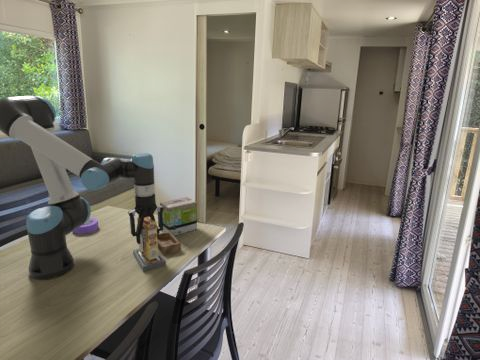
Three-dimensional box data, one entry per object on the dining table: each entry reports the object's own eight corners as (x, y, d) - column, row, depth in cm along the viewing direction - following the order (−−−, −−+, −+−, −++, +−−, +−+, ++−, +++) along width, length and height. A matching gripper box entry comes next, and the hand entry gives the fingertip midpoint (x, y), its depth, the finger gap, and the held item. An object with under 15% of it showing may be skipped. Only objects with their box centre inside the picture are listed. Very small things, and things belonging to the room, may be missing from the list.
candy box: (158, 257, 133) (157, 221, 129) (149, 260, 130) (147, 224, 126) (148, 249, 139) (146, 215, 135) (138, 252, 136) (136, 217, 132)
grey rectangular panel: (145, 266, 129) (145, 264, 129) (138, 254, 138) (137, 251, 138) (160, 262, 132) (160, 260, 132) (152, 251, 141) (152, 248, 141)
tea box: (170, 238, 155) (169, 208, 151) (160, 230, 162) (159, 202, 158) (197, 229, 164) (197, 201, 160) (187, 223, 171) (186, 195, 167)
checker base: (143, 271, 127) (142, 265, 126) (133, 254, 139) (132, 248, 138) (166, 265, 131) (165, 259, 131) (154, 249, 144) (154, 243, 143)
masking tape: (74, 225, 166) (73, 218, 165) (99, 223, 169) (98, 216, 168) (70, 235, 155) (69, 228, 154) (97, 233, 158) (96, 225, 157)
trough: (162, 254, 139) (162, 247, 138) (152, 241, 150) (152, 234, 149) (180, 250, 143) (180, 243, 142) (169, 238, 154) (169, 231, 153)
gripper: (123, 200, 120) (127, 258, 126) (170, 193, 129) (173, 247, 135) (118, 194, 126) (123, 249, 132) (164, 188, 135) (166, 240, 141)
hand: (148, 248), depth 134 cm, fingers closed on candy box, 5 cm apart
